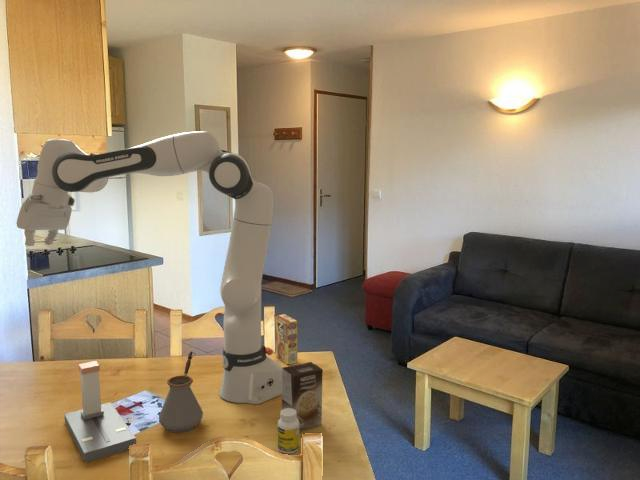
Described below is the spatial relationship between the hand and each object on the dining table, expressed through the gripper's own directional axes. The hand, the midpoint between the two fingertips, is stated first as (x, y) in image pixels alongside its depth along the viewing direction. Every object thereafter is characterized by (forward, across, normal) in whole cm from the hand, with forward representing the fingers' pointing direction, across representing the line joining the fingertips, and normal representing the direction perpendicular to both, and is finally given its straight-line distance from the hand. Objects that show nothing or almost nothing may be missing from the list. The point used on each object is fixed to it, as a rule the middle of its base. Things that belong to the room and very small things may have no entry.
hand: (39, 245), depth 152 cm
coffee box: (+31, -2, -82) cm, 88 cm away
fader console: (+43, -10, -32) cm, 54 cm away
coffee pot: (+37, 0, -50) cm, 63 cm away
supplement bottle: (+33, -14, -80) cm, 88 cm away
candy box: (+26, +41, -72) cm, 87 cm away
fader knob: (+40, -6, -27) cm, 48 cm away
